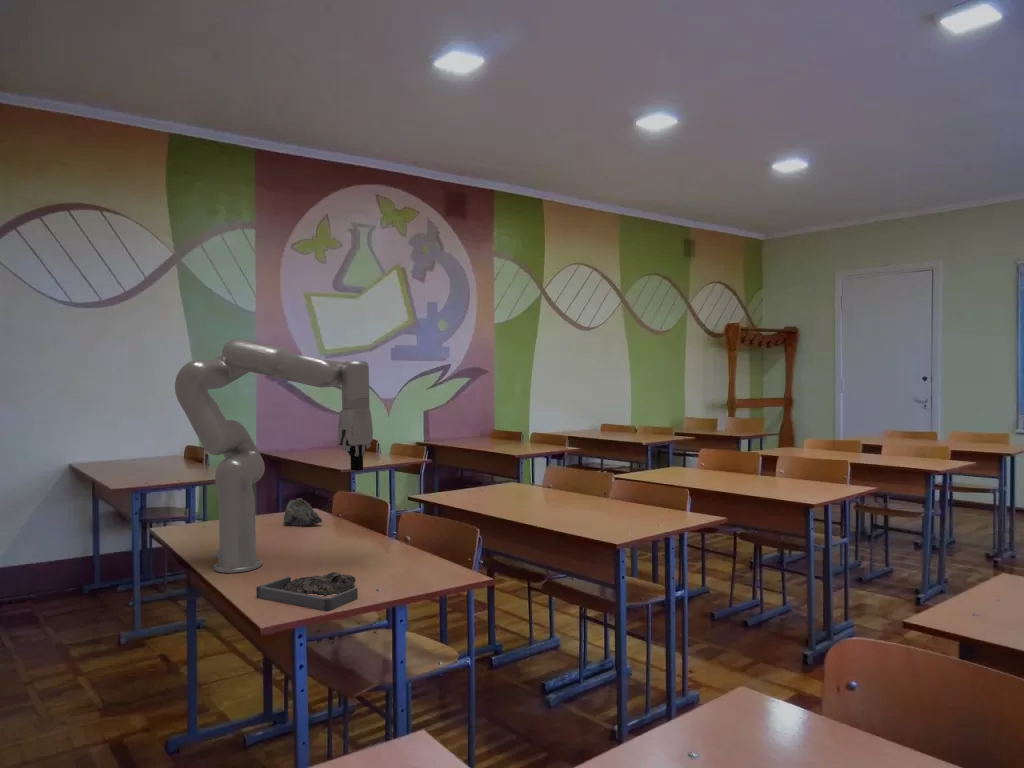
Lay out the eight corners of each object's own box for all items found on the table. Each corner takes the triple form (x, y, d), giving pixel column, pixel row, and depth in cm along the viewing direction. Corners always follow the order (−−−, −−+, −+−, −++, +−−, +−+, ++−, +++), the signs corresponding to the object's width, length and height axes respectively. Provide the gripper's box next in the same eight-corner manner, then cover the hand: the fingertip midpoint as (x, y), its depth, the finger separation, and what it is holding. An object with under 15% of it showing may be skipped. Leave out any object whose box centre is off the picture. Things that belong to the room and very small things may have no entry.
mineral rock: (323, 526, 258) (323, 498, 258) (294, 531, 251) (294, 502, 251) (309, 521, 268) (309, 494, 268) (281, 525, 261) (280, 497, 261)
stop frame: (256, 597, 176) (256, 587, 176) (288, 586, 185) (287, 576, 185) (327, 611, 165) (327, 600, 165) (357, 598, 174) (357, 588, 174)
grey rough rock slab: (370, 591, 182) (348, 577, 194) (369, 576, 182) (348, 562, 194) (294, 606, 171) (276, 590, 184) (293, 589, 171) (276, 575, 184)
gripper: (363, 403, 211) (364, 466, 211) (326, 405, 198) (328, 472, 198) (383, 403, 208) (384, 467, 208) (347, 406, 194) (349, 474, 195)
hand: (356, 470), depth 203 cm, fingers closed
